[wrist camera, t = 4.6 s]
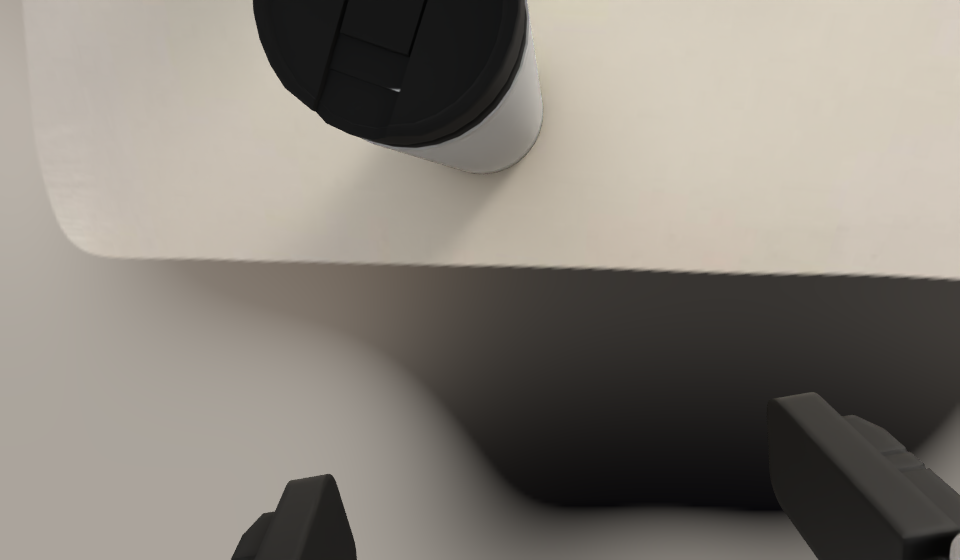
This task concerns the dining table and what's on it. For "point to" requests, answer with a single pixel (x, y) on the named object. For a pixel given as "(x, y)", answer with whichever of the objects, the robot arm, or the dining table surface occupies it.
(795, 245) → the dining table surface
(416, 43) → the travel mug
